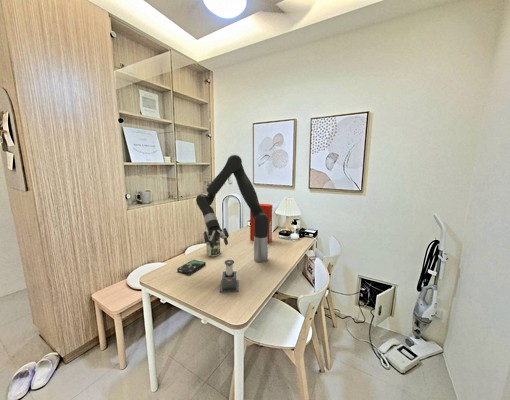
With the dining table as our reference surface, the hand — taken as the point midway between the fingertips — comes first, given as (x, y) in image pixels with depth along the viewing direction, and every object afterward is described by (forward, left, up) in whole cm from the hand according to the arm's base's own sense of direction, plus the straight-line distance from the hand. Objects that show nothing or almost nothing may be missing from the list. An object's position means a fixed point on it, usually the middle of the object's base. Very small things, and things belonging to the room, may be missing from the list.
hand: (220, 246), depth 121 cm
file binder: (-30, -59, -20) cm, 69 cm away
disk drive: (+19, -12, -20) cm, 30 cm away
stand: (-6, +10, -19) cm, 22 cm away
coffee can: (+8, -34, -20) cm, 40 cm away
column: (-6, +10, -18) cm, 21 cm away
